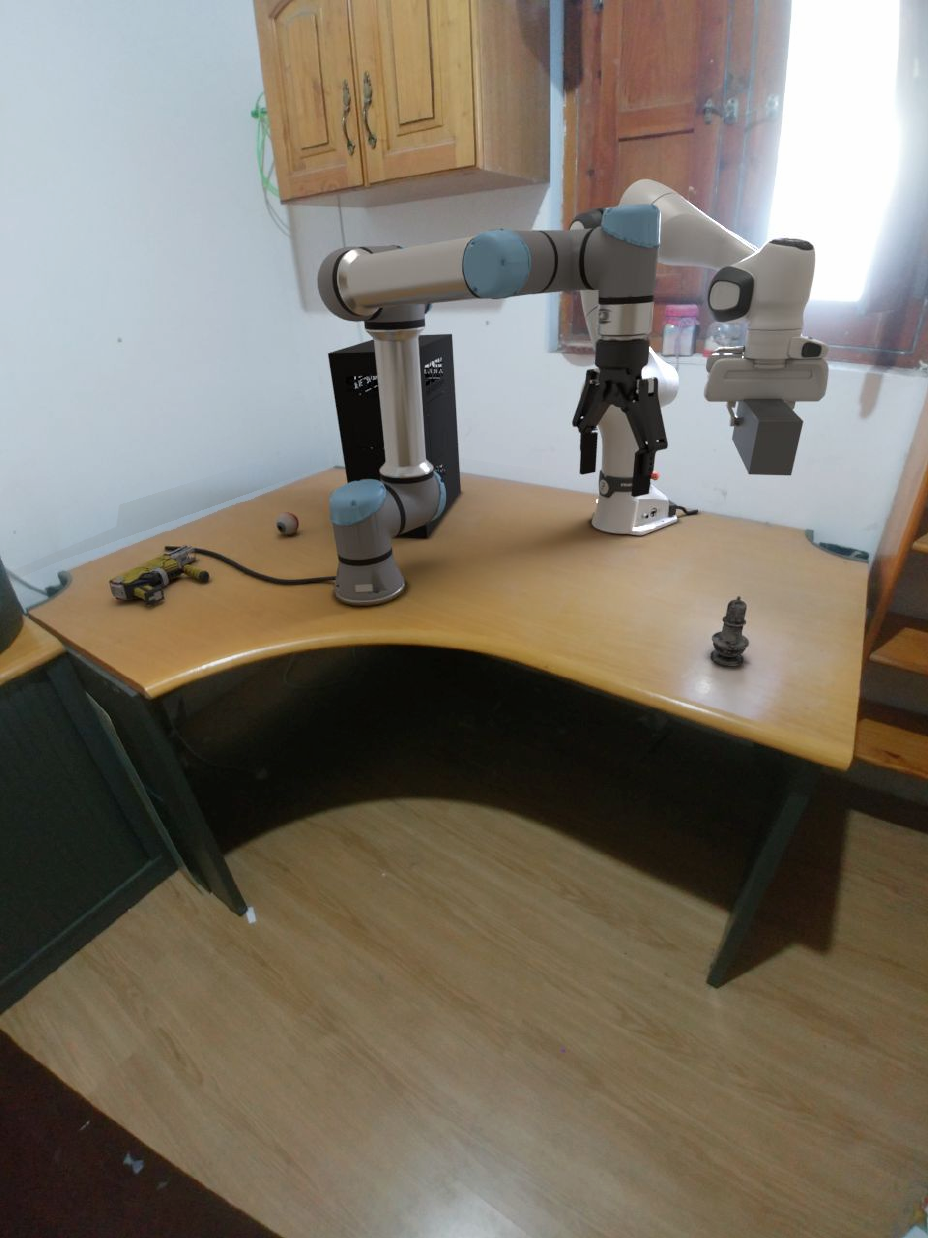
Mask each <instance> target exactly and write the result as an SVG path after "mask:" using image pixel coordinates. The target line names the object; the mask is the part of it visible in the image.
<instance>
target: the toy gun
mask: <svg viewBox="0 0 928 1238" xmlns="http://www.w3.org/2000/svg"><path fill="white" fill-rule="evenodd" d="M179 547H180V548H177V549H176V550H170V552H168V553H163V554H161V555H159V556H157V557H155V558H153V559H151V560H149V561H147V562H145V563H142V564H139V565H138V566H136V567H133V568H132V569H129V570H128V571H125V572H123V573H121V574H119V575H117V576H115V577H113V578H111V579H110V580H108V583H109V587H110V591H111V594H112V597H113V598H115V600H117V601H118V600H119V601H120V602H121V601H122V602H123V601H125V600H126V601H131V600H135V599H143V600H144V601H145V605H146V607H150V606H153V605H155V604H157V603H159V602H162V601H164V600H165V596H164V591H163V590H164V589H163V588H164V587H166V586H168V585H169V581H171V580H173V579H175V578H178V577H181V575H182V574H184V575H185V576H189V577H191V578H194V579H196V580H199V581H200V582H202V583H205V582H207V581H209V580H210V573H209V572H208V571H207V570H202V569H200V568H198V567H195V566H192V565H191V564H190V563H192V562H193V561H196V560H197V556H196V552H195V550H194V548H195V547H194V546H192V545H189V546H188V545H187V544H184V545H182V546H179ZM186 547H187V548H186ZM193 551H194V552H193ZM191 553H193V556H190V554H191Z"/></svg>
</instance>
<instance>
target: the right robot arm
mask: <svg viewBox="0 0 928 1238" xmlns="http://www.w3.org/2000/svg"><path fill="white" fill-rule="evenodd" d="M636 204H652V205H655V206H657V207H658V208H659V210H660V213H661V222H660V243H661V245H660V248H659V252H658V261H657V263H659V264H662V265H664V266H673V267H698V268H699V267H700V268H707V269H712V270H715V271H717V272H716V273H715V275H714V276H713V278H712V279H711V281H710V283H709V286H708V289H707V294H706V306H707V311H708V313H709V315H710V316H711V319H713V320H714V321H715V322H717V323H722V324H727V325H729V324H739V323H747V328H746V334H745V341H744V345H743V346H731V347H726V346H721V347H717V348H716V349H714V350H713V351H711V352H710V353H709V354H708V356H707V358H706V365H705V370H706V372H707V376H706V380H705V383H704V389H703V397H704V399H705V400H706V401H707V403H708V402H709V403H725V407H726V409H727V411H728V414H729V415H730V418H729V425H728V426H729V427H734V426H738V425H739V419H740V417H739V415H736V413H735V412H734V410H733V409H734V408H736V406H737V403H738V402H743V401H744V399H782V400H783V401H784V402H785V403H786V404H787V405H788V406H789V407H790V408H791V409H792V410H793V411H794V409H795V407H796V403H797V402H799V403H802V402H805V403H806V402H808V403H809V402H820V401H821V400H822V399H823V398H824V397H825V396H826V393H827V388H828V382H829V372H830V369H829V368H830V367H829V364H828V362H827V360H826V359H824V358H826V357H827V356H828V353H829V349H830V347H829V345H828V344H827V343H825V342H824V341H822V340H817V339H815V338H813V337H811V336H808V335H803V330H804V325H805V324H804V313H805V310H806V309H805V308H806V307H807V304H808V302H809V300H810V298H811V297H810V296H811V293H812V292H811V291H812V286H813V281H814V277H815V276H814V275H815V268H816V251H815V246H814V245H813V244H812V243H811V242H810V241H809V240H805V239H802V238H801V239H800V238H789V237H778V238H771V239H769V240H768V241H766V242H765V243H764V244H763V246H762V247H761V248H758V247H756V246H755V245H753V244H752V243H750V242H749V241H747V240H746V239H745V238H743V237H741V236H739V235H738V234H736V233H734V232H733V231H731V230H729V229H727V228H726V227H725V226H723V225H722V224H720V223H719V222H717V221H715V220H714V219H712V218H711V217H709V216H708V215H707V214H705V213H704V212H703V211H701V210H700V209H698V208H697V207H696V206H695V205H693V204H692V203H690V202H689V201H688V200H687V199H685V198H684V197H683V196H682V195H681V194H679V193H678V192H677V191H675V190H674V189H672V188H671V187H669V186H667V185H666V184H664V183H661V182H659V181H656V180H653V179H650V178H643V179H639V180H636V181H634V182H633V183H632V184H630V185H629V186H628V187H627V188H626V190H625V191H624V193H623V194H622V196H621V198H620V201H619V204H618V205H617V206H623V205H636ZM608 208H609V207H605V206H599V207H595V208H590V209H587V210H585V211H582V212H580V213H578V214H577V215H575V216H574V218H573V219H572V221H571V222H570V225H569V227H568V229H567V230H576V229H592V228H596V227H600V226H601V222H602V218H603V213H604V211H605V210H606V209H608ZM579 291H580V300H581V306H582V311H583V315H584V320H585V324H586V327H587V331H588V336H589V338H590V342H591V345H592V348H593V351H594V352H595V349H596V342H597V340H598V339H601V336H599V335H598V334H597V321H598V305H599V303H598V290H579ZM653 377H657V378H658V398H659V403H660V408H661V409H662V408H663V407H666V406H667V405H670V404H671V403H673V402H674V400H675V399H676V398H677V395H678V393H679V389H680V379H679V375H678V372H677V370H676V369H675V368H674V366H672V365H670V364H668V363H666V362H665V361H664V360H662V359H661V358H660V357H659V356H658V355H657V354H656V353H655V351H654V350H653V348H652V347H651V346H650V348H649V359H648V364H647V365H646V366H644V367H643V369H642V378H643V379H646V378H653ZM584 385H585V380H584V381H583V383H582V386H581V389H580V395H579V396H580V397H581V394H582V391H583V388H584ZM633 402H635V400H634V401H633ZM596 427H597V429H598V431H599V433H600V438H601V468H600V470H599V474H598V492H599V493H598V498H597V499H596V507H595V511H594V514H593V517H592V520H591V525H592V526H593V527H594V528H595V529H597V530H599V531H601V532H605V533H611V534H623V535H625V534H626V535H632V536H633V535H634V536H645V535H646V534H650V533H652V532H654V531H657V530H660V529H662V528H665V527H668V526H670V525H672V524H675V523H677V522H678V516H677V515H676V513H677V510H681V511H682V512H683V513H684V514H685V515H694V514H696V513H699V509H693V510H687V509H686V507H684V506H682V505H678V504H676V503H675V502H673V501H672V500H670V499H669V498H668V497H667V496H666V495H665V494H664V493H663V492H661V491H660V490H659V489H658V488H656V487H655V486H654V485H652V483H651V481H650V489H649V494H646V495H642V496H637V497H633V496H631V493H632V482H633V471H634V460H635V452H637V451H638V450H639V447H638V445H637V442H636V440H635V437H634V434H633V432H632V429H631V427H630V424H629V421H628V419H627V416H626V414H625V413H624V412H622V411H621V408H619V407H615V406H614V405H610V406H609V408H608V409H607V411H606V412H605V414H604V416H603V417H602V419H601V420H600V422H599V423H598V425H597V426H596ZM646 444H648V443H647V442H646ZM659 478H660V473H659V472H657V471H653V473H652V474H651V480H653V481H658V479H659Z"/></svg>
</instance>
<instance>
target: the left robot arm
mask: <svg viewBox="0 0 928 1238" xmlns="http://www.w3.org/2000/svg"><path fill="white" fill-rule="evenodd" d="M607 208H608V209H606V210H605V211H604V213H603V218H602V222H601V226H600V227H596V228H592V229H576V230H568V229H556V230H555V229H551V230H550V229H544V230H543V229H539V230H535V229H533V230H532V229H531V230H516V229H515V230H512V229H511V230H510V229H508V228H498V229H497V228H496V229H490V230H485V231H481V232H479V233H478V234H476V235H474V236H468V237H461V238H456V239H449V240H443V241H439V242H433V243H432V242H431V243H427V244H421V245H415V246H404V245H396V244H392V245H391V244H390V245H372V246H370V245H369V246H344V247H340V248H337V249H334V250H333V251H332V252H330V253H329V254H327V255H326V256H325V258H324V259H323V260H322V262H321V264H320V266H319V268H318V272H317V279H316V280H317V282H316V283H317V289H318V295H319V296H320V299H321V301H322V303H323V305H324V306H325V307H326V309H327V310H328V311H329V312H330V313H331V314H332V315H334V316H336V317H338V318H339V319H341V320H343V321H347V322H355V323H358V322H359V323H361V322H363V325H364V330H365V332H366V333H367V334H368V335H370V337H372V340H373V339H374V346H375V356H376V366H377V376H376V377H377V378H378V387H379V397H380V407H381V417H382V427H383V438H384V448H385V458H386V461H385V463H384V464H383V465H382V467H381V468H380V479H381V482H380V481H378V480H374V479H363V480H360V481H353V482H350V483H347V482H346V483H345V484H343V485H341V486H339V487H338V488H336V489H335V490H334V491H332V493H331V495H330V497H329V501H328V504H329V518H330V522H331V525H332V531H333V537H334V543H335V549H336V554H337V555H336V556H337V560H338V561H337V562H338V564H337V569H336V575H332V576H329V575H328V576H320V577H309V578H300V579H299V578H297V579H284V578H277V577H273V576H269V575H265V574H263V573H259V572H257V571H254V570H252V569H249V568H247V567H245V566H243V565H241V564H239V563H238V562H236V561H234V560H232V559H230V558H229V557H226V556H224V555H223V554H220V553H219V552H215V551H211V550H207V549H203V548H198V547H193V548H194V550H195V553H200V554H204V555H208V556H211V557H215V558H217V559H220V560H222V561H224V562H226V563H228V564H230V565H231V566H233V567H235V568H236V569H239V570H241V571H243V572H245V573H247V574H249V575H250V576H253V577H256V578H258V579H262V580H265V581H267V582H272V583H276V584H282V585H283V584H284V585H285V584H286V585H296V584H297V585H298V584H299V585H300V584H301V585H302V584H311V583H321V582H329V581H330V582H331V581H334V593H335V597H336V599H337V600H338V601H339V602H341V603H342V604H346V605H348V606H355V607H371V606H372V607H373V606H377V605H382V604H386V603H388V602H391V601H393V600H394V599H396V598H398V597H400V596H401V595H402V594H403V593H404V591H405V587H406V584H405V579H404V575H403V573H402V572H401V569H400V567H399V565H398V563H397V561H396V559H395V557H394V553H393V546H392V538H395V536H398V535H400V534H403V533H405V532H408V531H410V530H412V529H415V528H417V527H420V526H424V525H426V524H428V523H429V522H431V521H433V520H435V519H436V518H437V517H438V516H439V515H440V514H441V513H442V511H443V509H444V506H445V502H446V490H445V486H444V483H441V477H440V476H439V475H438V474H437V473H436V472H435V471H434V469H433V465H432V464H431V463H430V462H429V461H428V460H426V454H425V438H424V422H423V407H422V391H421V375H420V359H419V343H418V337H419V335H422V333H423V331H424V330H425V329H426V315H427V314H428V313H429V312H430V311H431V310H432V308H433V304H438V303H449V302H450V303H451V302H459V301H471V300H472V301H473V300H489V299H491V300H501V299H509V298H513V297H520V296H529V295H539V294H541V295H542V294H550V293H551V294H552V293H559V292H575V291H576V292H577V291H580V290H598V303H599V305H598V321H597V334H598V335H599V336H601V339H598V340H597V342H596V349H595V351H594V365H595V368H589V369H587V370H586V371H585V378H584V379H585V380H584V381H585V385H584V388H583V391H582V394H581V393H580V394H581V397H580V398H579V399H578V400H579V401H578V403H577V407H576V410H575V412H574V415H573V418H572V421H571V424H572V427H573V428H577V430H578V431H577V432H578V433H579V434H580V435H579V438H580V439H579V452H580V453H579V455H580V457H579V474H580V475H588V474H592V473H593V474H594V473H596V471H597V453H598V438H599V437H598V435H599V432H597V431H599V428H598V426H597V425H598V423H599V422H600V420H601V419H602V417H603V416H604V414H605V412H606V411H607V409H608V408H609V406H610V405H614V406H615V407H619V408H621V411H622V412H624V413H625V414H626V416H627V419H628V421H629V424H630V427H631V429H632V432H633V434H634V437H635V440H636V442H637V445H638V447H639V450H638V451H637V452H635V460H634V471H633V482H632V493H631V496H633V497H637V496H642V495H646V494H649V489H650V482H651V480H652V479H651V474H652V473H653V471H654V469H655V461H656V453H657V452H659V451H663V450H667V449H668V447H669V443H668V438H667V432H666V428H665V422H664V418H663V414H662V408H660V403H659V398H658V378H657V377H653V378H646V379H643V378H642V369H643V367H644V366H646V365H647V364H648V359H649V348H650V347H651V340H650V338H649V337H648V336H647V335H649V334H650V333H651V332H652V331H653V320H654V319H653V318H654V307H655V306H654V304H655V287H656V279H657V270H658V269H657V268H658V262H657V261H658V252H659V248H660V245H661V243H660V222H661V213H660V210H659V208H658V207H657V206H655V205H652V204H636V205H623V206H618V205H617V206H612V207H607ZM634 400H635V402H633V401H634ZM646 442H647V443H648V444H646ZM654 472H655V471H654ZM180 547H181V546H175V545H174V546H172V545H171V546H170V545H165V546H164V550H166V551H174V550H176V549H177V548H180ZM186 548H187V547H186ZM192 553H194V551H193V552H192Z"/></svg>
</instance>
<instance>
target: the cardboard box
mask: <svg viewBox="0 0 928 1238" xmlns="http://www.w3.org/2000/svg"><path fill="white" fill-rule="evenodd" d="M418 343H419V359H420V375H421V391H422V407H423V422H424V438H425V454H426V460H428V461H429V462H430V463H431V464H432V465H433V469H434V471H435V472H436V473H437V474H438V475H439V476H440V477H441V483H444V486H445V490H446V502H445V506H444V509H443V511H442V513H441V514H440V515H439V516H438V517H437V518H436V519H435V520H433V521H431V522H429V523H428V524H426V525H424V526H420V527H417V528H415V529H412V530H410V531H408V532H405V533H403V534H400V535H398V536H395V537H396V538H397V537H398V538H399V537H400V538H421V539H428V538H429V537H430V535H432V533H433V531H434V530H435V529H436V527H437V526H438V524H439V523H440V521H441V520H442V518H443V517H445V514H446V513H447V512H448V510H449V509H450V508H451V507H452V505H453V504H454V502H455V501H456V499H457V498H458V497H459V495H460V494H461V493H462V488H461V469H460V451H459V435H458V434H459V433H458V416H457V415H458V414H457V413H458V412H457V397H456V396H457V395H456V379H455V378H456V377H455V361H454V342H453V333H442V334H441V333H440V334H439V333H437V334H420V335H419V337H418ZM327 358H328V365H329V370H330V378H331V383H332V390H333V397H334V403H335V410H336V416H337V423H338V430H339V434H340V435H339V436H340V443H341V450H342V455H343V463H344V469H345V476H346V484H347V483H350V482H353V481H360V480H363V479H374V480H378V481H380V482H381V479H380V468H381V467H382V465H383V464H384V463H385V461H386V458H385V448H384V438H383V427H382V417H381V407H380V397H379V387H378V377H377V366H376V356H375V346H374V339H373V338H372V339H370V340H367V341H364V342H359V343H357V344H354V345H351V346H347V347H344V348H341V349H337V350H334V351H331V352H328V353H327ZM395 537H394V538H395Z"/></svg>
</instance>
